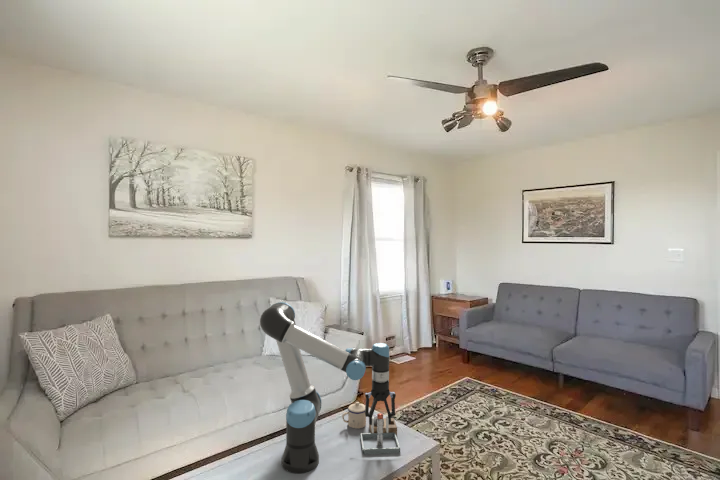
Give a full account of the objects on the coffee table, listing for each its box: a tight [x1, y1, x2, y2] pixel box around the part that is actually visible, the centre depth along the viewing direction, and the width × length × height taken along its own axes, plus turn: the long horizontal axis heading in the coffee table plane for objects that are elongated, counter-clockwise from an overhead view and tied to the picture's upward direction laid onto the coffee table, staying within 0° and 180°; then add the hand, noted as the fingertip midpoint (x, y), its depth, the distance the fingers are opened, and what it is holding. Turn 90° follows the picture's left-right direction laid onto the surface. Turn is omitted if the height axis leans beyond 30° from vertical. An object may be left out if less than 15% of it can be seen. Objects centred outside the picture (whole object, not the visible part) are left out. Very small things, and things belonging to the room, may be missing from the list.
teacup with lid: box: [341, 401, 367, 429], centre depth 191 cm, size 12×9×12 cm
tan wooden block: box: [368, 416, 398, 437], centre depth 185 cm, size 12×9×7 cm
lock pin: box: [376, 412, 384, 448], centre depth 173 cm, size 3×3×14 cm
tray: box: [359, 432, 401, 455], centre depth 173 cm, size 16×13×3 cm
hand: (379, 431), depth 173 cm, fingers open, 6 cm apart
